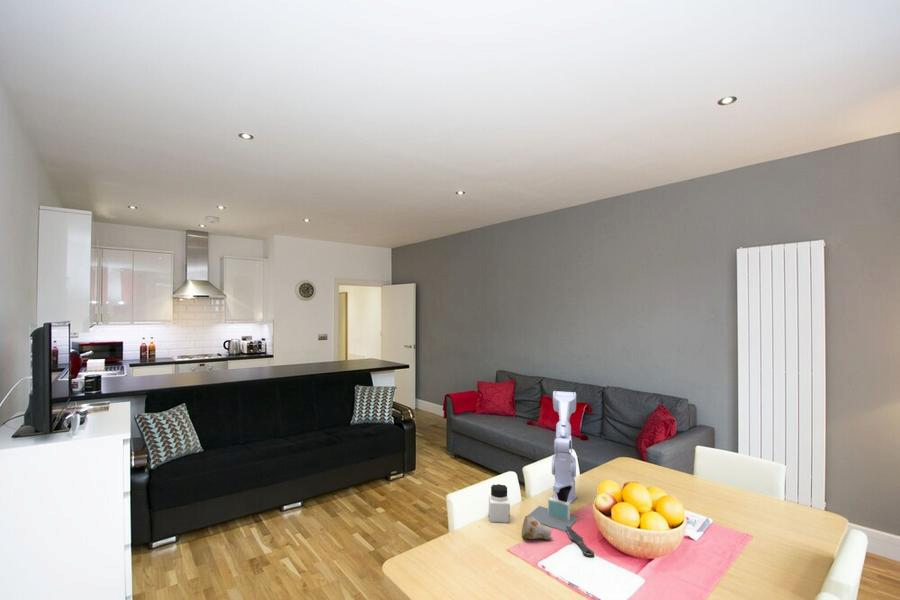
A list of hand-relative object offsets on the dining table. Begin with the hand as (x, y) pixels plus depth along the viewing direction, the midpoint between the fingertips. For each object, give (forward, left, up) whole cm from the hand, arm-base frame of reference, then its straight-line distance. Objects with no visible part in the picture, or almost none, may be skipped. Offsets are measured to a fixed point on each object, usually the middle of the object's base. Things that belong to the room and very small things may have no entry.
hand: (562, 505), depth 162 cm
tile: (+4, 0, -3) cm, 5 cm away
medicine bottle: (+18, -18, -4) cm, 26 cm away
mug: (+22, -1, -4) cm, 22 cm away
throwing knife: (+16, +11, -3) cm, 20 cm away
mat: (+6, -2, -3) cm, 7 cm away
